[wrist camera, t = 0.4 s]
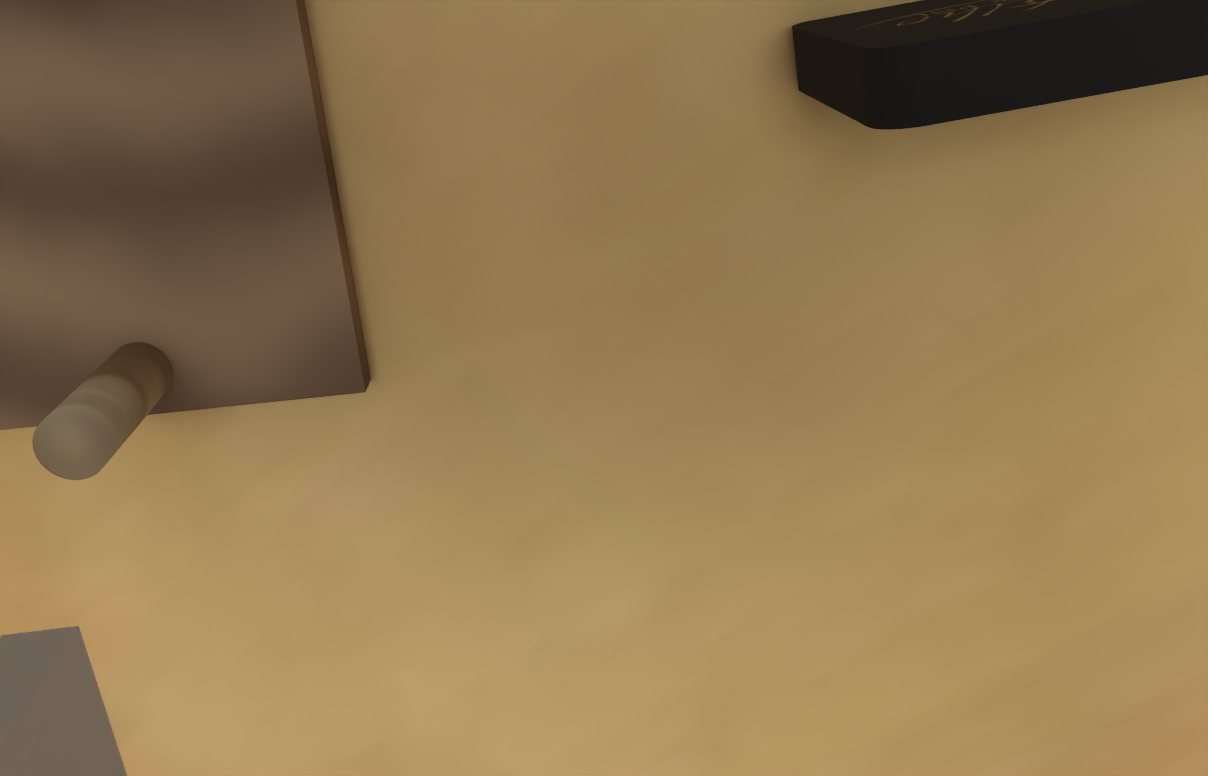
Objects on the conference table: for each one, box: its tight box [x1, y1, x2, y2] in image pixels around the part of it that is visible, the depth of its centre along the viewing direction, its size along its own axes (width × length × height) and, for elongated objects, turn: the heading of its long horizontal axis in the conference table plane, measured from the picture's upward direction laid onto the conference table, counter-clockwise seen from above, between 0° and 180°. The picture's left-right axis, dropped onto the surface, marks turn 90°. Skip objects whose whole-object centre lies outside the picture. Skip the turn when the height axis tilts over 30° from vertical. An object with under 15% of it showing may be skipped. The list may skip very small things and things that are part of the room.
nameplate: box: [792, 0, 1208, 129], centre depth 31 cm, size 21×2×10 cm, turn 100°
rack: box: [0, 0, 370, 480], centre depth 32 cm, size 16×14×7 cm
